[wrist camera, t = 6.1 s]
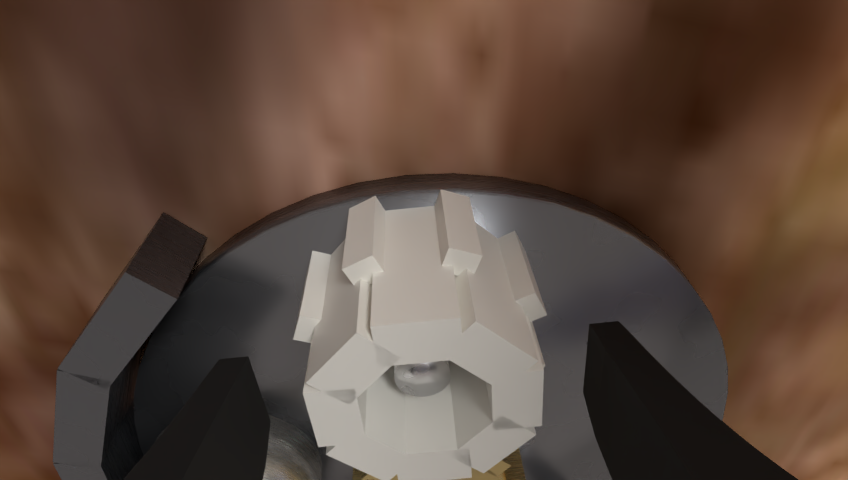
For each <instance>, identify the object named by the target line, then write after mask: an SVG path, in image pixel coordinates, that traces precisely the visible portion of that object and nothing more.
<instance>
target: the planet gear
mask: <svg viewBox="0 0 848 480" xmlns="http://www.w3.org/2000/svg"><path fill="white" fill-rule="evenodd" d="M546 315H547V313H546V310H545V307H544V304H543V301H542V298H541V295H540V292H539V289H538V286H537V283H536V280H535V277H534V274H533V271H532V269H531V266H530V263H529V260H528V257H527V254H526V251H525V249H524V247H523V245H522V243H521V241H520V240H519V238H518V236H517V234H516V232H515V231H513V232H511V233H508V234H506V235H504V236H502V237H500V238H496V237H495V236H494V235H492V234H491V233H490V232H488V231H487V230H485V229H484V228H483V227H481V226H480V225H478V224H477V223H476V222H475V220H474V216H473V211H472V207H471V203H470V198H469V196H465V195H461V194H457V193H453V192H449V191H446V190H442V189H440V192H439V194H438V197H437V200H436V203H435V205H434V206H427V207H417V208H407V209H397V210H387V211H385V209H384V208H383V206H382V205H381V203H380V202H379V200H378V199H377V197H376V196H374V197H372V198H370V199H367V200H365V201H363V202H361V203H359V204H357V205H355V206H353V207H351V208H349V214H348V222H347V230H346V239H345V240H344V241H343V242H342V243H341V244H340V245H339V246H338V248H337V249H336V250H335V251H334V252H333V253H332V254H331V255H330V254H326V253H321V252H317V251H312V255H311V258H310V262H309V266H308V270H307V274H306V279H305V284H304V289H303V294H302V299H301V304H300V308H299V313H298V318H297V323H296V328H295V333H294V338H293V340H297V341H302V342H308V343H311V346H310V352H309V358H308V364H307V370H306V376H305V382H304V388H303V396H304V400H305V403H306V407H307V410H308V414H309V417H310V421H311V424H312V427H313V431H314V434H315V438H316V441H317V445H318V447H325V446H327V448H326V455H328V456H330V457H332V458H334V459H336V460H338V461H341V462H343V463H345V464H347V465H349V466H352V467H354V468H356V469H358V470H360V471H362V472H365V473H367V474H369V475H371V476H373V477H376V478H378V479H380V480H390V479H392V478H393V477H394V476H395V475H397V476H398V480H452V479H462V478H472V472H471V467H472V468H474V469H476V470H478V471H480V472H482V473H485V472H486V471H488V470H489V469H490V468H492V467H493V466H494V465H496V464H497V463H499V462H500V461H501V460H503V459H504V458H505V457H507V456H508V455H509V454H511V453H512V452H514V451H515V450H516V449H518V448H519V447H520V446H522V445H523V444H524V443H526V442H527V441H529V440H530V439H531V438H533V437H534V436H535V435H536V431H535V427H536V426H542V409H543V381H544V367H545V362H544V359H543V356H542V352H541V349H540V346H539V342H538V339H537V336H536V333H535V329H534V326H533V323H532V321H534V320H536V319H539V318H541V317H544V316H546ZM447 360H449V363H450V372H451V378H450V382H449V384H448V385H447V386H446V388H445V389H443V390H442V391H441V392H439V393H437V394H434V395H431V396H425V397H417V396H412V395H409V394H406V393H404V392H403V391H401V390H400V389H399V388H398V387H397V385H396V383H395V378H394V366H395V365H405V364H416V363H426V362H437V361H447Z"/></svg>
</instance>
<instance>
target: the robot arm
mask: <svg viewBox="0 0 848 480" xmlns="http://www.w3.org/2000/svg"><path fill="white" fill-rule="evenodd" d="M583 394H584V397H585V401H586V405H587V409H588V413H589V417H590V420H591V424H592V427H593V431H594V435H595V438H596V440H597V443H598V446H599V448H600V451H601V453H602V456H603V458H604V461H605V463H606V466H607V468H608V471H609V473H610V476H611V478H612V480H798V479H797V478H795V477H794V476H792V475H791V474H789V473H788V472H787V471H785V470H784V469H782V468H781V467H780V466H778V465H777V464H776V463H774V462H773V461H772V460H770V459H769V458H768V457H766V456H765V455H764V454H762V453H761V452H760V451H758V450H757V449H756V448H754V447H753V446H752V445H751V444H749V443H748V442H747V441H746V440H744V439H743V438H742V437H741V436H739V435H738V434H737V433H736V432H735V431H733V430H732V429H731V428H730V427H729V426H727V425H726V424H725V423H724V422H723V421H722V420H720V419H719V418H718V417H717V416H716V415H715V414H713V413H712V412H711V411H710V410H709V409H708V408H707V407H706V406H704V405H703V404H702V403H701V402H700V401H699V400H698V399H697V398H696V397H695V396H693V395H692V394H691V393H690V392H689V391H688V390H687V389H686V388H685V387H684V386H683V385H682V384H681V383H680V382H679V381H677V380H676V379H675V378H674V377H673V376H672V375H671V374H670V373H669V372H668V371H667V370H666V369H665V368H664V367H663V366H662V365H661V364H660V363H659V362H658V361H657V360H656V359H655V358H654V357H653V356H652V355H651V354H650V353H649V352H648V351H647V350H646V349H645V348H644V347H643V346H642V344H641V343H640V342H639V341H638V340H637V339H636V338H635V337H634V336H633V335H632V334H631V333H630V332H629V331H628V330H627V329H626V328H625V327H624V326H623V325H622V324H621V323H620V322H619V321H614V322H603V323H593V324H589V331H588V342H587V353H586V364H585V375H584V386H583ZM270 422H271V421H270V418H269V415H268V412H267V409H266V406H265V403H264V400H263V398H262V395H261V392H260V389H259V386H258V383H257V380H256V377H255V374H254V371H253V369H252V366H251V363H250V360H249V357H248V356H246V357H236V358H225V359H219V360H218V362H217V363H216V364H215V365H214V367H213V368H212V369H211V370H210V372H209V373H208V374H207V376H206V377H205V378H204V380H203V381H202V382H201V384H200V385H199V386H198V388H197V389H196V390H195V392H194V393H193V394H192V396H191V397H190V398H189V400H188V401H187V402H186V403H185V405H184V406H183V407H182V409H181V410H180V411H179V413H178V414H177V415H176V416H175V418H174V419H173V420H172V421H171V423H170V424H169V425H168V427H167V428H166V429H165V430H164V432H163V433H162V434H161V435H160V437H159V438H158V439H157V440H156V442H155V443H154V444H153V445H152V446H151V448H150V449H149V450H148V451H147V452H146V454H145V455H144V456H143V457H142V458H141V459H140V461H139V462H138V463H137V464H136V465H135V466H134V467H133V469H132V470H131V471H130V472H129V473H128V474H127V476H126V477H125V478H124V479H123V480H263V476H264V471H265V466H266V458H267V450H268V441H269V432H270Z"/></svg>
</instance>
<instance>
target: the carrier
mask: <svg viewBox="0 0 848 480" xmlns="http://www.w3.org/2000/svg"><path fill="white" fill-rule="evenodd" d="M440 189H442V190H446V191H449V192H453V193H457V194H461V195H465V196H469V198H470V203H471V207H472V211H473V216H474V220H475V222H476V223H477V224H478V225H480V226H481V227H483V228H484V229H485V230H487V231H488V232H490V233H491V234H492V235H494V236H495V237H496V238H500V237H502V236H504V235H506V234H508V233H511V232H513V231H515V232H516V234H517V236H518V238H519V240H520V241H521V243H522V245H523V247H524V249H525V251H526V254H527V257H528V260H529V263H530V266H531V269H532V271H533V274H534V277H535V280H536V283H537V286H538V289H539V292H540V295H541V298H542V301H543V304H544V307H545V310H546V313H547V315H546V316H544V317H541V318H539V319H536V320H534V321H532V323H533V326H534V329H535V333H536V336H537V339H538V342H539V346H540V349H541V352H542V356H543V359H544V362H545V367H544V381H543V409H542V426H536V427H535V431H536V435H535V436H534V437H533V438H531V439H530V440H529V441H527V442H526V443H524V444H523V445H522V446H520V447H519V448H518V449H516V450H515V451H514V452H512V453H511V454H509V455H508V456H507V457H505V458H504V459H503V460H501V461H500V462H499V463H497V464H496V465H494V466H493V467H492V468H490V469H489V470H488V471H486V472H485V473H482V472H480V471H478V470H476V469H474V468H472V467H471V472H472V478H462V479H452V480H612V478H611V476H610V473H609V471H608V468H607V466H606V463H605V461H604V458H603V456H602V453H601V451H600V448H599V446H598V443H597V440H596V438H595V435H594V431H593V427H592V424H591V420H590V417H589V413H588V409H587V405H586V401H585V397H584V394H583V386H584V375H585V364H586V353H587V342H588V331H589V324H593V323H603V322H614V321H619V322H620V323H621V324H622V325H623V326H624V327H625V328H626V329H627V330H628V331H629V332H630V333H631V334H632V335H633V336H634V337H635V338H636V339H637V340H638V341H639V342H640V343H641V344H642V346H643V347H644V348H645V349H646V350H647V351H648V352H649V353H650V354H651V355H652V356H653V357H654V358H655V359H656V360H657V361H658V362H659V363H660V364H661V365H662V366H663V367H664V368H665V369H666V370H667V371H668V372H669V373H670V374H671V375H672V376H673V377H674V378H675V379H676V380H677V381H679V382H680V383H681V384H682V385H683V386H684V387H685V388H686V389H687V390H688V391H689V392H690V393H691V394H692V395H693V396H695V397H696V398H697V399H698V400H699V401H700V402H701V403H702V404H703V405H704V406H706V407H707V408H708V409H709V410H710V411H711V412H712V413H713V414H715V415H716V416H717V417H718V418H719V419H720V420H722V419H723V415H724V409H725V404H726V399H727V394H728V366H727V361H726V357H725V352H724V347H723V342H722V338H721V336H720V334H719V332H718V329H717V327H716V325H715V322H714V320H713V318H712V315H711V313H710V311H709V310H708V309H707V307H706V306H705V304H704V303H703V301H702V300H701V298H700V297H699V296H698V294H697V293H696V291H695V290H694V288H693V287H692V285H691V284H690V283H689V281H688V280H687V278H686V277H685V275H684V274H683V273H682V271H681V270H680V268H679V267H678V265H677V264H676V263H675V262H674V261H673V260H672V259H671V258H670V257H669V256H668V255H667V254H666V253H665V252H664V251H663V250H662V249H661V248H660V247H659V246H658V245H657V244H656V243H655V242H654V241H653V240H652V239H650V238H649V237H648V236H646V235H645V234H643V233H642V232H641V231H639V230H638V229H636V228H635V227H634V226H632V225H631V224H629V223H628V222H627V221H625V220H624V219H622V218H620V217H618V216H616V215H614V214H612V213H611V212H609V211H607V210H605V209H603V208H601V207H599V206H597V205H595V204H593V203H591V202H589V201H587V200H584V199H581V198H578V197H575V196H572V195H570V194H567V193H564V192H561V191H558V190H555V189H552V188H549V187H546V186H542V185H537V184H532V183H527V182H522V181H517V180H512V179H508V178H503V177H493V176H480V175H468V174H455V173H451V174H425V175H404V176H398V177H391V178H385V179H379V180H372V181H366V182H360V183H355V184H352V185H348V186H345V187H341V188H338V189H334V190H331V191H327V192H324V193H320V194H317V195H313V196H311V197H308V198H306V199H304V200H301V201H299V202H297V203H294V204H292V205H289V206H287V207H285V208H282V209H280V210H278V211H275V212H273V213H271V214H269V215H268V216H266V217H264V218H262V219H261V220H259V221H257V222H256V223H254V224H252V225H251V226H249V227H247V228H245V229H244V230H242V231H240V232H239V233H237V234H235V235H234V236H233V237H232V238H230V239H229V240H228V241H227V242H225V243H224V244H223V245H222V246H220V247H219V248H218V249H217V250H215V251H214V252H213V253H212V254H210V255H209V256H208V257H207V258H205V259H204V260H203V262H202V263H201V264H200V265H199V266H198V267H197V268H196V269H195V270H194V271H193V273H192V274H191V275H190V276H189V274H190V272H191V270H192V268H193V266H194V264H195V262H196V260H197V258H198V256H199V253H200V251H201V249H202V247H203V245H204V243H205V241H206V239H207V237H205V236H203V235H202V234H200V233H198V232H196V231H195V230H193V229H191V228H189V227H188V226H186V225H184V224H182V223H181V222H179V221H177V220H175V219H174V218H172V217H170V216H169V215H167V214H165V213H163V214H162V215H161V217H160V218H159V220H158V221H157V222H156V224H155V225H154V227H153V228H152V230H151V231H150V232H149V234H148V235H147V237H146V238H145V240H144V241H143V243H142V244H141V245H140V247H139V248H138V250H137V251H136V253H135V254H134V256H133V257H132V258H131V260H130V261H129V263H128V264H127V266H126V267H125V269H124V270H123V271H122V273H121V274H120V276H119V277H118V279H117V280H116V281H115V283H114V284H113V286H112V287H111V289H110V290H109V292H108V293H107V294H106V296H105V297H104V299H103V300H102V302H101V303H100V305H99V306H98V308H97V309H96V311H95V312H94V314H93V315H92V317H91V318H90V320H89V322H88V323H87V325H86V326H85V328H84V329H83V331H82V332H81V334H80V335H79V337H78V338H77V340H76V341H75V343H74V344H73V346H72V348H71V349H70V351H69V352H68V354H67V355H66V357H65V358H64V360H63V361H62V363H61V364H60V366H59V367H58V370H57V383H56V405H55V428H54V451H53V462H54V466H55V468H56V470H57V472H58V473H59V475H60V477H61V479H62V480H123V479H124V478H125V477H126V476H127V474H128V473H129V472H130V471H131V470H132V469H133V467H134V466H135V465H136V464H137V463H138V462H139V461H140V459H141V458H142V457H143V456H144V455H145V454H146V452H147V451H148V450H149V449H150V448H151V446H152V445H153V444H154V443H155V442H156V440H157V439H158V438H159V437H160V435H161V434H162V433H163V432H164V430H165V429H166V428H167V427H168V425H169V424H170V423H171V421H172V420H173V419H174V418H175V416H176V415H177V414H178V413H179V411H180V410H181V409H182V407H183V406H184V405H185V403H186V402H187V401H188V400H189V398H190V397H191V396H192V394H193V393H194V392H195V390H196V389H197V388H198V386H199V385H200V384H201V382H202V381H203V380H204V378H205V377H206V376H207V374H208V373H209V372H210V370H211V369H212V368H213V367H214V365H215V364H216V363H217V362H218V360H219V359H225V358H236V357H246V356H248V357H249V360H250V363H251V366H252V369H253V371H254V374H255V377H256V380H257V383H258V386H259V389H260V392H261V395H262V398H263V400H264V403H265V406H266V409H267V412H268V415H269V418H270V421H271V422H270V432H269V441H268V450H267V458H266V466H265V471H264V476H263V480H380V479H378V478H376V477H373V476H371V475H369V474H367V473H365V472H362V471H360V470H358V469H356V468H354V467H352V466H349V465H347V464H345V463H343V462H341V461H338V460H336V459H334V458H332V457H330V456H328V455H326V448H327V446H325V447H318V445H317V441H316V438H315V434H314V431H313V427H312V424H311V421H310V417H309V414H308V410H307V407H306V403H305V400H304V396H303V388H304V382H305V376H306V370H307V364H308V358H309V352H310V346H311V343H308V342H302V341H297V340H293V338H294V333H295V328H296V323H297V318H298V313H299V308H300V304H301V299H302V294H303V289H304V284H305V279H306V274H307V270H308V266H309V262H310V258H311V255H312V251H317V252H321V253H326V254H330V255H331V254H332V253H333V252H334V251H335V250H336V249H337V248H338V246H339V245H340V244H341V243H342V242H343V241H344V240H345V239H346V230H347V222H348V214H349V208H351V207H353V206H355V205H357V204H359V203H361V202H363V201H365V200H367V199H370V198H372V197H374V196H376V197H377V199H378V200H379V202H380V203H381V205H382V206H383V208H384V209H385V211H387V210H397V209H407V208H417V207H427V206H434V205H435V203H436V200H437V197H438V194H439V192H440ZM188 276H189V277H188ZM155 327H156V328H155ZM154 329H155V330H154ZM153 330H154V332H153V334H152V336H151V338H150V340H149V343H148V345H147V348H146V350H145V353H144V355H143V358H142V360H141V363H140V357H141V350H142V344H143V343H144V342H145V340H146V339H147V338H148V336H149V335H150V334H151V333H152V331H153ZM139 363H140V365H139ZM394 378H395V383H396V385H397V387H398V388H399V389H400V390H401V391H403V392H404V393H406V394H409V395H412V396H417V397H425V396H431V395H434V394H437V393H439V392H441V391H442V390H443V389H445V388H446V386H447V385H448V384H449V382H450V378H451V372H450V363H449V360H447V361H437V362H426V363H416V364H405V365H395V366H394ZM390 480H398V476H397V475H395V476H394V477H393V478H392V479H390Z"/></svg>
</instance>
